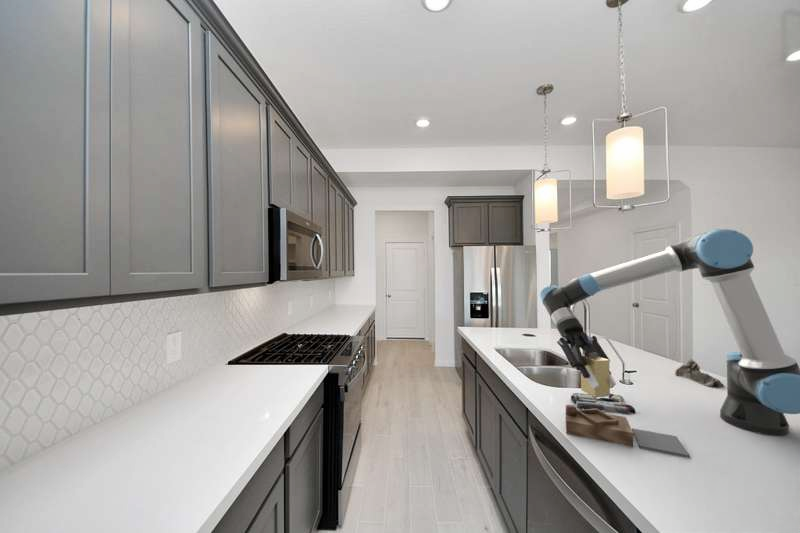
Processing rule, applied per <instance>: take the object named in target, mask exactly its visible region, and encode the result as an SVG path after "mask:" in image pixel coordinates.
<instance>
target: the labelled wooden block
mask: <svg viewBox="0 0 800 533" xmlns="http://www.w3.org/2000/svg"><path fill="white" fill-rule="evenodd" d="M582 357H583V360H584V364H585V365H584V366H586V365H588V367H589V368H590V370H591V372H592V373H593V375H594V377H595V379H596V380H597V382H598V384H599V386H598V387H597V388H596V389H594V390H592V388H591V386H590V384H589V382H588V381H587V379H586V378H584V377H583V375H582V373H581V372H580V386H581V387H580V390H581V391H583V393H584V392H585V394H590V395H592V396H594V397H596V398H606V397H609V396H610V394H611V388H610V372H611V371H609V370H610V362H609V360H610V359H609V360H608V359H605V358H602V357H599V356H598V353H595V352H585V351H584V355H582Z"/></svg>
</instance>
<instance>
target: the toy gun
mask: <svg viewBox="0 0 800 533" xmlns="http://www.w3.org/2000/svg"><path fill="white" fill-rule="evenodd" d="M570 400H571V402H572V403H574V405H575V406H576V409H594V408H597V409H599V410H601V411H603V412H609V413H610V412H611V413H622V414H636V409H635V407H633V405H630V404H627V403H626V402H624V401H625V400H624V397H623V396H622V395H620V394H613V393H610V396H608V397H607V398H606V397H594V396H592V395H590V394H588V393H583V392H581V393H579V392H572V395H570Z"/></svg>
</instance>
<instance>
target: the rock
mask: <svg viewBox="0 0 800 533" xmlns="http://www.w3.org/2000/svg"><path fill="white" fill-rule="evenodd" d="M700 368H701V367H700V365H699V363H697V362H696V361H695V360H693V359H692V358H690V359H689V360H687V361H686V363H683V364H682V365H680V366H679V367H678V368H676V370H674V374H675V376H676V377H681V376H682V378H683V379H684V378H685V379H687V380H691V381H692V382H695V383H697V384H700V385H701V386H706V387H710V388H717V389H719V388H722V387H723V388H724V386H725V385H724V384H723V383H722V381H720V380H719V379H718V378H715V377H714V376H711V375H710V374H708V373H705V372H702V371H700Z"/></svg>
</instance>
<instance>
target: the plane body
mask: <svg viewBox="0 0 800 533" xmlns="http://www.w3.org/2000/svg"><path fill="white" fill-rule="evenodd" d="M565 430H566V431H565V432H566V434H567V435H570V436H576V437H581V438H586V439H591V440H595V441H601V442H607V443H610V444H617V445H621V446H627V447H631V448H634V435H633V431H632V426H631V425H630V423H629V420H628V419H627V417H626V416H622V415H616V414H610V413H606V412H605V411H604V410H602V411H601V410H599V409H597V408H594V409H579V408H577V407H576V405H575V404H574V405H573V404H566V405H565Z"/></svg>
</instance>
